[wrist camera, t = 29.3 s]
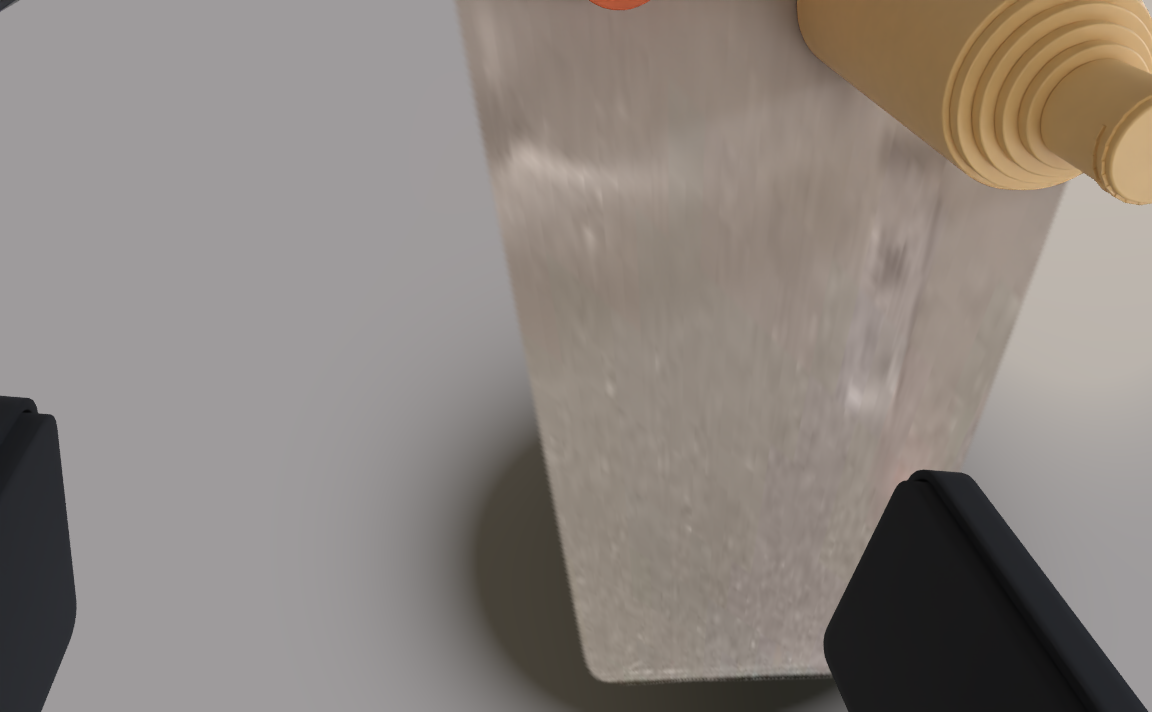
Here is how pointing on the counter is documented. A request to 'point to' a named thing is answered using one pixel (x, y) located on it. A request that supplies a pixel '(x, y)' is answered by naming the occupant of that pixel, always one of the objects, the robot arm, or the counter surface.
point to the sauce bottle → (1005, 83)
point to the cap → (619, 4)
